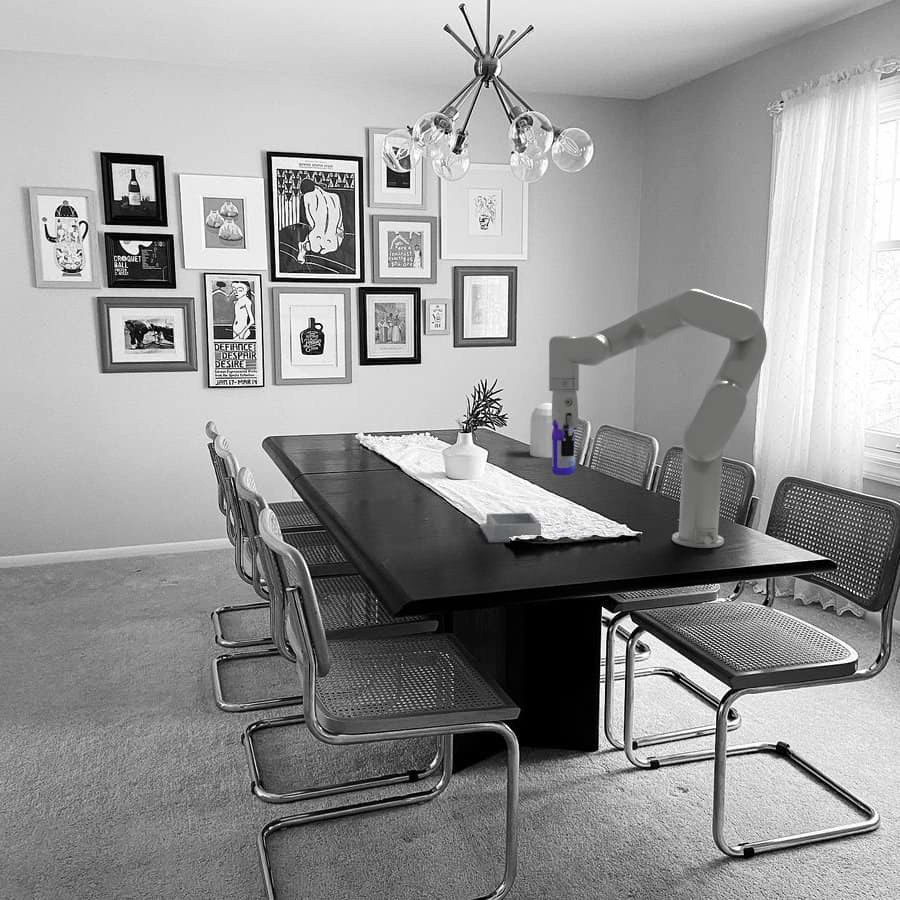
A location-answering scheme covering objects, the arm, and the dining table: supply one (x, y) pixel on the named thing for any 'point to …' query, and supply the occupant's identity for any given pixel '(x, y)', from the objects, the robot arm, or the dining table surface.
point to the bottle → (560, 463)
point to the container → (541, 431)
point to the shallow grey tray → (509, 526)
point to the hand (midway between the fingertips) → (563, 452)
